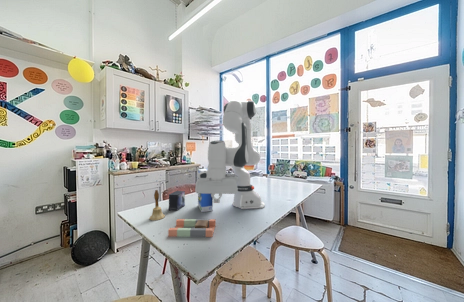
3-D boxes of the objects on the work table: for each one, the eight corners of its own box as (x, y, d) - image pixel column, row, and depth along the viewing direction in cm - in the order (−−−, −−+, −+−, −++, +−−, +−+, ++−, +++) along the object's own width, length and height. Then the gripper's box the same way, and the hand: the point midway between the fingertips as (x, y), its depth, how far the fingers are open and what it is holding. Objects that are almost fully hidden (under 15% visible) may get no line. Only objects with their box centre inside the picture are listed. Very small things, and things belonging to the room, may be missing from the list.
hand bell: (150, 221, 94) (150, 192, 94) (148, 217, 101) (147, 189, 100) (166, 218, 99) (166, 190, 99) (162, 213, 106) (162, 187, 105)
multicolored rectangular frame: (215, 225, 90) (215, 219, 90) (212, 237, 78) (212, 230, 78) (177, 224, 90) (177, 219, 90) (168, 236, 78) (168, 229, 78)
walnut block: (208, 228, 87) (208, 220, 87) (205, 234, 81) (205, 225, 81) (198, 227, 87) (198, 220, 87) (194, 233, 81) (194, 225, 81)
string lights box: (197, 205, 120) (197, 168, 119) (208, 204, 123) (208, 168, 122) (201, 212, 107) (201, 171, 107) (213, 210, 110) (213, 170, 110)
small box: (177, 211, 110) (177, 194, 110) (168, 210, 111) (168, 194, 111) (185, 205, 120) (185, 190, 120) (176, 205, 121) (176, 190, 121)
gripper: (238, 173, 86) (238, 201, 86) (197, 172, 87) (197, 200, 87) (238, 175, 80) (238, 205, 80) (194, 174, 80) (194, 204, 80)
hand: (216, 202), depth 83 cm, fingers closed
